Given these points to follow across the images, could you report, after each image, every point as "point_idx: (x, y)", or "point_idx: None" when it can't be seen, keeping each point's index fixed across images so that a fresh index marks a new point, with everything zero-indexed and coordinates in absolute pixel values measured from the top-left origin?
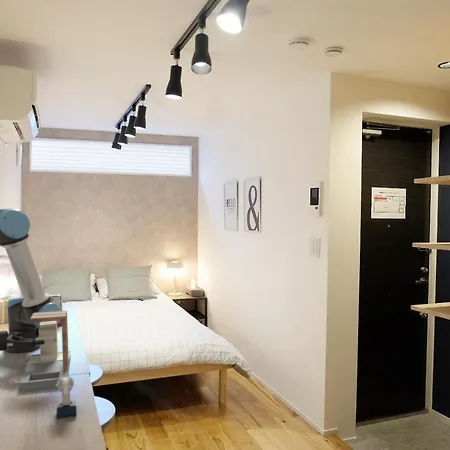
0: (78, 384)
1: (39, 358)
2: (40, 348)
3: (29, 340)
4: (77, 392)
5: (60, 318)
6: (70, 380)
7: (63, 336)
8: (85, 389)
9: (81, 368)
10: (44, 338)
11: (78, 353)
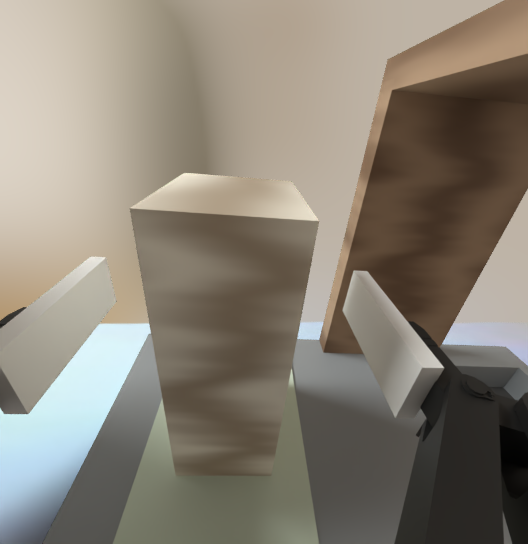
0: (456, 340)
1: (211, 492)
2: (281, 420)
3: (497, 438)
4: (519, 344)
5: None
6: None
7: (505, 214)
8: (486, 328)
9: (303, 330)
10: (394, 309)
11: (103, 333)
